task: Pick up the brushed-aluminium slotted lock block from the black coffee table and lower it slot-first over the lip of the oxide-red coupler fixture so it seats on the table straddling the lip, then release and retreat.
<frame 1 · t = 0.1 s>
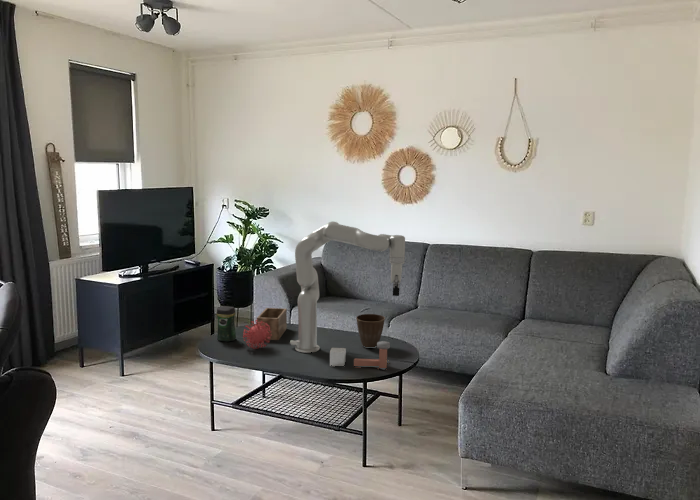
hand: (396, 293, 286), 31 cm above the table, fingers open, 9 cm apart
coffee jar: (226, 340, 308), on the table
plant pot: (369, 347, 300), on the table
figurine crate: (272, 333, 320), on the table
coupler: (366, 366, 270), on the table
lock block: (337, 364, 273), on the table
virus model: (257, 348, 295), on the table
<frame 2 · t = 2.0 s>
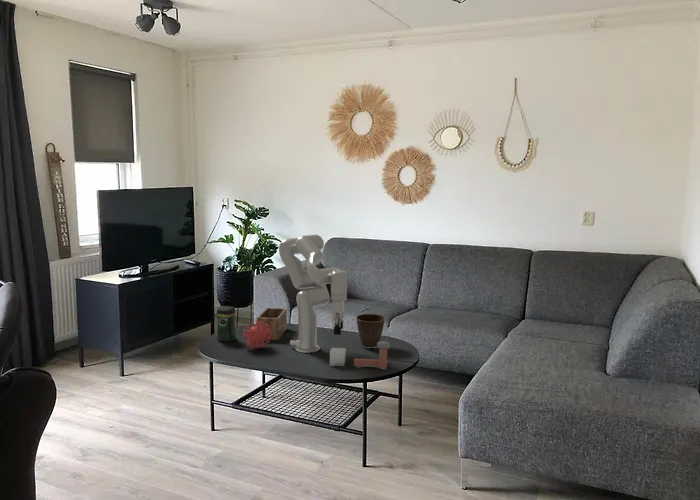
hand: (338, 331, 271), 16 cm above the table, fingers open, 9 cm apart
nothing on the table moved.
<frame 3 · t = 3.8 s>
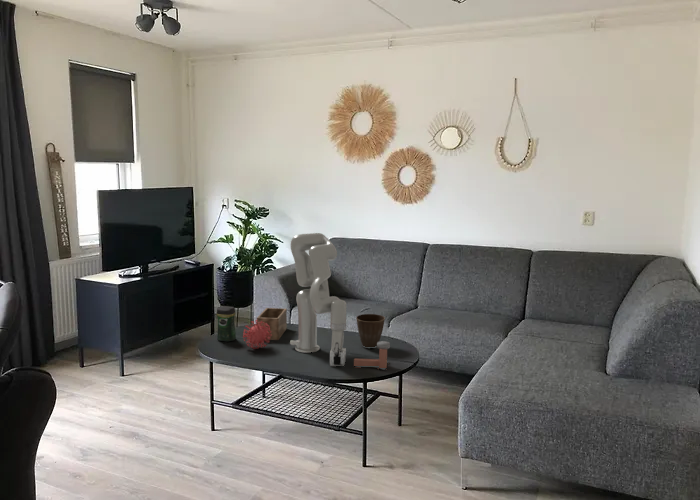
hand: (337, 361, 273), 1 cm above the table, fingers closed on lock block, 6 cm apart
lock block: (337, 364, 273), on the table, touching gripper
everything else where it was.
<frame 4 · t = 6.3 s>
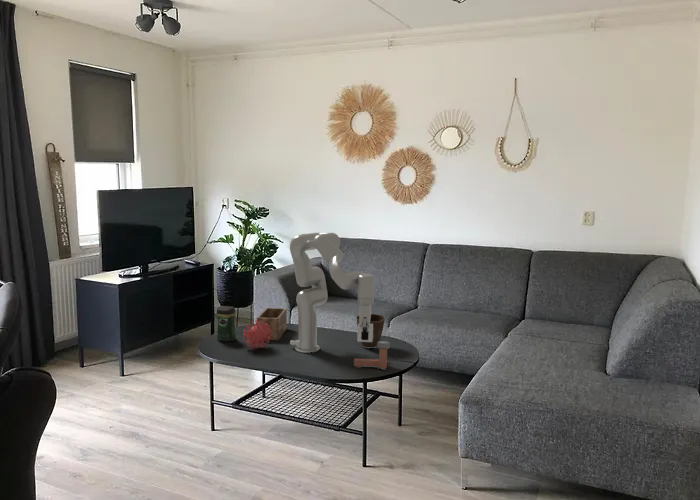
hand: (365, 337, 268), 15 cm above the table, fingers closed on lock block, 6 cm apart
lock block: (365, 339, 268), point 13 cm above the table, touching gripper
everything else where it was.
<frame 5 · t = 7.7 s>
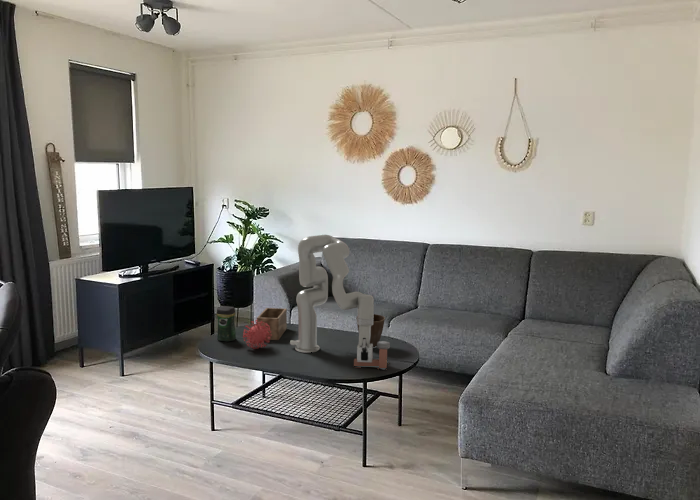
hand: (364, 357, 269), 5 cm above the table, fingers closed on lock block, 6 cm apart
lock block: (364, 359, 270), point 3 cm above the table, touching gripper
everything else where it was.
when the fingers open (2 cm above the table, at t = 8.7 s): lock block stays where it is, resting in coupler.
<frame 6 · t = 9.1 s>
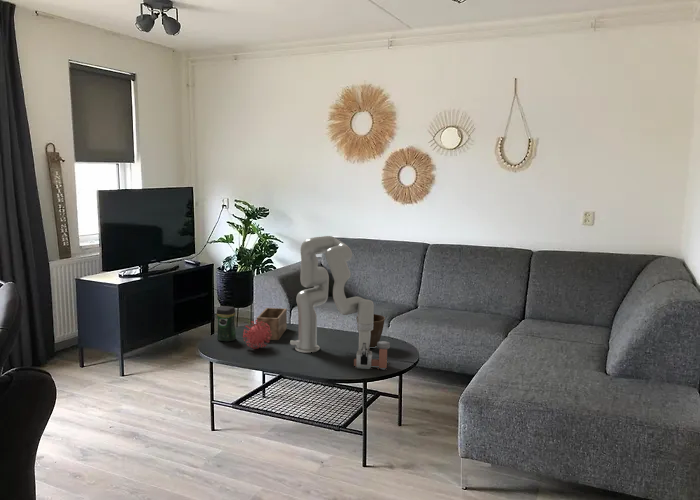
hand: (364, 360, 270), 3 cm above the table, fingers open, 9 cm apart
lock block: (364, 366, 270), resting in coupler
everything else where it was.
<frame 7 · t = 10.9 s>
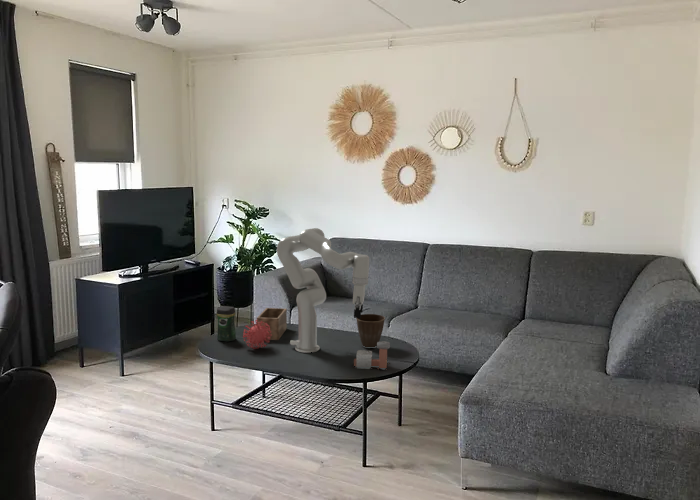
hand: (358, 314, 275), 23 cm above the table, fingers open, 9 cm apart
nothing on the table moved.
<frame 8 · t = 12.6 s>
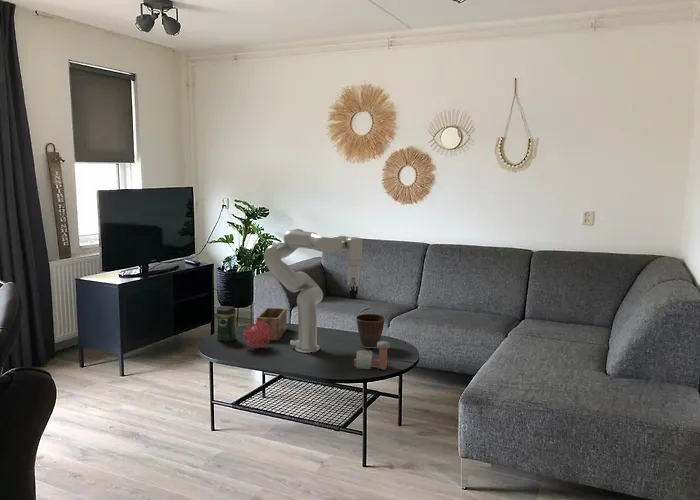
hand: (353, 296, 282), 30 cm above the table, fingers open, 9 cm apart
nothing on the table moved.
at the end: lock block 0.1 cm from the target spot on the coupler, point 0.0 cm above the coupler's base; lock block tilted 0°; the gripper is holding nothing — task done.
